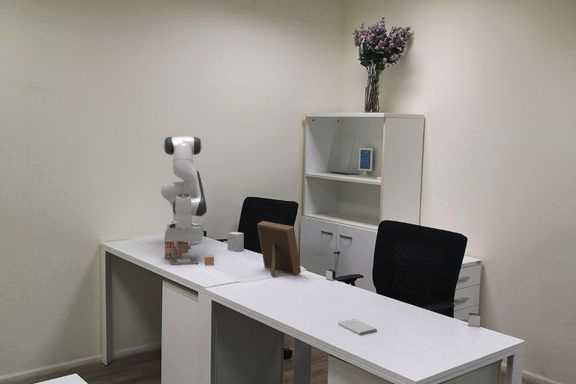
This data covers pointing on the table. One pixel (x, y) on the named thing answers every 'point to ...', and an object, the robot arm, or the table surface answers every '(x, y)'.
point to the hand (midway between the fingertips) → (183, 249)
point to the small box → (235, 241)
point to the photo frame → (279, 248)
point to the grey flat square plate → (183, 261)
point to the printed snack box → (171, 250)
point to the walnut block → (183, 247)
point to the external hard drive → (357, 327)
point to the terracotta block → (209, 260)
